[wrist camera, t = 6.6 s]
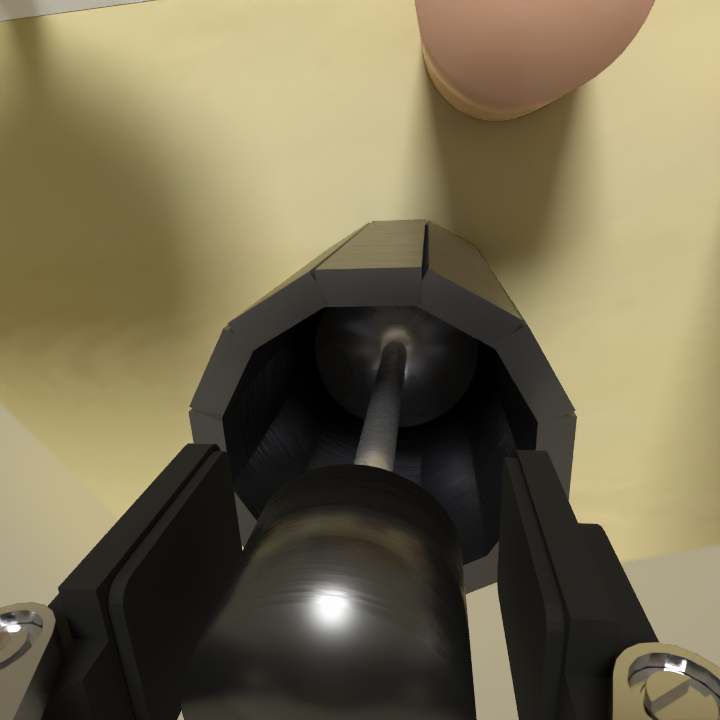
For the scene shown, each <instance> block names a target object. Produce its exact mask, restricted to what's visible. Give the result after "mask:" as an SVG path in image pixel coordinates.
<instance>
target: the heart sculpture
mask: <svg viewBox="0 0 720 720" xmlns="http://www.w3.org/2000/svg"><path fill="white" fill-rule="evenodd" d="M142 1H149V0H0V21H4V20H11V19H18V18H26V17H33V16H40V15H47V14H55V13H62V12H69V11H77V10H84V9H91V8H98V7H106V6H113V5H120V4H127V3H135V2H142Z"/></svg>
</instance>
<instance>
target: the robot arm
mask: <svg viewBox="0 0 720 720" xmlns="http://www.w3.org/2000/svg"><path fill="white" fill-rule="evenodd" d="M241 553H242V544H241V537H240V530H239V523H238V516H237V509H236V502H235V495H234V488H233V481H232V474H231V467H230V460H229V455H228V453H227V452H226V451H221V450H220V448H219V446H218V445H217V444H187V445H186V446H185V447H184V448H183V449H182V450H181V451H180V452H179V453H178V455H177V456H176V457H175V458H174V459H173V460H172V461H171V462H170V463H169V465H168V466H167V467H166V468H165V469H164V470H163V471H162V472H161V473H160V475H159V476H158V477H157V478H156V479H155V480H154V481H153V482H152V484H151V485H150V486H149V487H148V488H147V489H146V490H145V491H144V492H143V494H142V495H141V496H140V497H139V498H138V499H137V500H136V501H135V502H134V504H133V505H132V506H131V507H130V508H129V509H128V510H127V511H126V512H125V514H124V515H123V516H122V517H121V518H120V519H119V520H118V521H117V523H116V524H115V525H114V526H113V527H112V528H111V529H110V531H108V533H107V534H106V535H105V536H104V537H103V538H102V539H101V540H100V542H99V543H98V544H97V545H96V546H95V547H94V548H93V549H92V550H91V551H90V553H89V554H88V555H87V556H86V557H85V558H84V559H83V560H82V562H81V563H80V564H79V565H78V566H77V567H76V568H75V569H74V570H73V572H72V573H71V574H70V575H69V576H68V577H67V578H66V579H65V581H64V582H63V583H62V584H61V585H60V586H59V587H58V590H59V594H58V595H57V596H56V597H55V599H54V600H53V601H52V602H51V603H50V604H49V605H48V606H46V605H42V604H39V603H34V602H29V603H17V604H13V605H9V606H5V607H1V608H0V720H177V719H178V716H179V714H180V712H181V710H182V709H181V701H180V690H181V681H182V677H183V673H184V670H185V667H186V665H187V663H188V661H189V658H190V656H191V654H192V652H193V650H194V648H195V646H196V644H197V642H198V640H199V638H200V636H201V634H202V632H203V630H204V628H205V626H206V624H207V622H208V620H209V618H210V616H211V614H212V612H213V610H214V608H215V606H216V604H217V602H218V600H219V598H220V596H221V594H222V592H223V590H224V588H225V586H226V584H227V582H228V580H229V577H230V575H231V573H232V571H233V569H234V567H235V565H236V563H237V561H238V559H239V557H240V555H241ZM497 584H498V595H499V602H500V607H501V613H502V620H503V626H504V631H505V638H506V644H507V649H508V656H509V661H510V668H511V674H512V680H513V686H514V693H515V698H516V705H517V711H518V717H519V720H720V667H719V666H717V665H716V664H714V663H712V662H711V661H709V660H707V659H706V658H704V657H702V656H700V655H699V654H697V653H694V652H692V651H689V650H687V649H684V648H681V647H679V646H676V645H670V644H663V643H659V641H658V639H657V637H656V635H655V633H654V631H653V629H652V627H651V625H650V623H649V621H648V619H647V617H646V615H645V612H644V610H643V608H642V606H641V605H640V602H639V600H638V599H637V597H636V594H635V592H634V590H633V588H632V586H631V584H630V582H629V580H628V578H627V576H626V574H625V572H624V570H623V568H622V566H621V564H620V562H619V560H618V558H617V556H616V554H615V551H614V549H613V547H612V545H611V543H610V541H609V539H608V537H607V535H606V533H605V531H604V530H603V528H602V527H601V526H600V525H598V524H583V523H578V522H577V520H576V517H575V515H574V513H573V510H572V508H571V506H570V503H569V501H568V499H567V496H566V494H565V491H564V489H563V487H562V484H561V482H560V480H559V477H558V475H557V473H556V470H555V468H554V466H553V463H552V461H551V459H550V456H549V454H548V452H547V451H537V450H515V452H514V458H504V460H503V471H502V491H501V511H500V531H499V551H498V571H497Z"/></svg>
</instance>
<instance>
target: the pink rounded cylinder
mask: <svg viewBox="0 0 720 720" xmlns="http://www.w3.org/2000/svg"><path fill="white" fill-rule="evenodd" d="M654 2H655V0H415V6H416V12H417V19H418V25H419V31H420V37H421V43H422V49H423V55H424V60H425V64H426V67H427V70H428V73H429V76H430V78H431V80H432V82H433V83H434V85H435V87H436V88H437V90H438V91H439V93H440V94H441V95H442V96H443V97H444V98H445V100H446V101H447V102H448V103H450V104H451V105H452V106H453V107H455V108H456V109H457V110H459V111H461V112H463V113H464V114H466V115H469V116H471V117H474V118H478V119H482V120H489V121H505V120H510V119H515V118H518V117H522V116H525V115H527V114H529V113H531V112H533V111H535V110H537V109H539V108H541V107H543V106H545V105H547V104H548V103H550V102H552V101H554V100H556V99H558V98H560V97H561V96H563V95H565V94H567V93H569V92H571V91H573V90H574V89H576V88H578V87H580V86H582V85H583V84H585V83H586V82H588V81H590V80H591V79H593V78H594V77H596V76H597V75H598V74H600V73H601V72H602V71H603V70H605V69H606V68H607V67H608V66H610V65H611V64H612V63H613V62H614V61H615V60H616V59H617V58H618V57H619V56H620V55H621V54H622V53H623V51H624V50H625V49H626V48H627V46H628V45H629V44H630V43H631V41H632V40H633V39H634V38H635V36H636V35H637V33H638V31H639V30H640V28H641V27H642V25H643V24H644V22H645V20H646V18H647V16H648V14H649V12H650V10H651V8H652V6H653V4H654Z"/></svg>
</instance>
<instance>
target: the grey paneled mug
mask: <svg viewBox="0 0 720 720" xmlns="http://www.w3.org/2000/svg"><path fill="white" fill-rule="evenodd" d="M356 306H417V307H419V308H420V309H422V310H424V311H426V312H428V313H430V314H432V315H433V316H435V317H437V318H439V319H441V320H443V321H444V322H446V323H448V324H450V325H452V326H454V327H455V328H457V329H459V330H461V331H463V332H465V333H466V334H468V335H470V336H472V337H474V338H476V339H477V342H478V359H477V366H476V370H475V374H474V376H473V379H472V381H471V383H470V385H469V387H468V389H467V390H466V392H465V393H464V395H463V396H462V397H461V399H460V400H459V401H458V402H457V403H456V404H455V405H454V406H453V407H452V408H450V409H449V410H448V411H446V412H445V413H444V414H442V415H440V416H438V417H437V418H435V419H432V420H430V421H428V422H425V423H422V424H418V425H413V426H407V427H398V434H397V442H396V451H395V459H394V467H393V472H394V473H396V474H399V475H401V476H403V477H405V478H408V479H409V480H411V481H412V482H414V483H416V484H417V485H419V486H421V487H422V488H423V489H424V490H426V491H427V492H428V493H430V494H431V495H432V496H433V497H434V498H435V499H436V500H437V501H438V502H439V503H440V504H441V506H442V507H443V508H444V510H445V511H446V512H447V513H448V515H449V517H450V518H451V520H452V522H453V524H454V525H455V528H456V531H457V533H458V536H459V539H460V544H461V548H462V559H463V570H464V582H465V593H466V594H468V593H470V592H473V591H475V590H478V589H480V588H483V587H485V586H488V585H490V584H493V583H496V582H497V571H498V551H499V531H500V511H501V491H502V471H503V460H504V458H514V452H515V450H537V451H547V452H548V454H549V456H550V459H551V461H552V463H553V466H554V468H555V470H556V473H557V475H558V477H559V480H560V482H561V484H562V487H563V489H564V491H565V494H566V496H567V499H568V501H569V490H570V480H571V470H572V460H573V450H574V440H575V430H576V420H577V416H576V415H575V413H574V411H575V409H574V407H573V405H572V403H571V402H570V400H569V398H568V396H567V394H566V393H565V391H564V389H563V387H562V386H561V384H560V382H559V380H558V378H557V377H556V375H555V373H554V371H553V369H552V368H551V366H550V364H549V362H548V361H547V359H546V357H545V355H544V353H543V352H542V350H541V348H540V346H539V344H538V343H537V341H536V339H535V337H534V335H533V334H532V332H531V330H530V328H529V327H528V325H527V323H526V322H525V320H524V319H523V317H522V316H521V314H520V313H519V311H518V310H517V308H516V306H515V305H514V303H513V302H512V300H511V299H510V297H509V296H508V294H507V293H506V291H505V290H504V288H503V287H502V285H501V284H500V282H499V281H498V279H497V277H496V276H495V274H494V273H493V271H492V270H491V268H490V267H489V265H488V264H487V262H486V261H485V259H484V258H483V256H482V255H481V253H480V252H479V250H478V248H476V247H475V246H474V245H472V244H471V243H469V242H467V241H465V240H463V239H462V238H460V237H458V236H456V235H454V234H453V233H451V232H449V231H447V230H445V229H444V228H442V227H440V226H438V225H436V224H435V223H433V222H431V221H428V223H425V220H398V221H373V222H371V223H368V224H366V225H365V226H363V227H362V228H360V229H358V230H357V231H355V232H354V233H352V234H351V235H349V236H348V237H346V238H345V239H343V240H342V241H340V242H338V243H337V244H335V245H334V246H332V247H331V248H329V249H328V250H326V251H325V252H323V253H322V254H321V255H319V256H318V257H317V258H315V259H314V260H313V261H311V262H310V263H309V264H307V265H306V266H305V267H303V268H302V269H301V270H299V271H298V272H296V273H295V274H294V275H292V276H291V277H290V278H288V279H287V280H286V281H284V282H283V283H282V284H280V285H279V286H278V287H276V288H275V289H274V290H272V291H271V292H269V293H268V294H267V295H265V296H264V297H263V298H261V299H260V300H259V301H257V302H256V303H255V304H253V305H252V306H251V307H249V308H248V309H247V310H245V311H244V312H243V313H241V314H240V315H238V316H237V317H236V318H234V319H233V320H232V321H230V322H229V323H228V325H227V326H226V327H225V328H224V329H223V331H222V333H221V335H220V338H219V340H218V342H217V345H216V347H215V349H214V351H213V354H212V356H211V358H210V361H209V363H208V365H207V367H206V370H205V372H204V374H203V377H202V379H201V381H200V383H199V386H198V388H197V390H196V393H195V395H194V397H193V399H192V402H191V404H190V406H189V407H191V408H192V409H191V410H190V411H189V417H190V423H191V429H192V435H193V441H194V444H217V445H218V446H219V448H220V450H221V451H226V452H227V453H228V455H229V460H230V467H231V474H232V481H233V488H234V495H235V502H236V509H237V516H238V523H239V530H240V537H241V544H242V546H243V547H245V545H246V543H247V541H248V539H249V537H250V535H251V533H252V531H253V529H254V527H255V525H256V523H257V521H258V519H259V517H260V515H261V513H262V511H263V509H264V507H265V506H266V504H267V502H268V501H269V499H270V498H271V497H272V496H273V495H274V494H275V492H276V491H277V490H278V489H279V488H281V487H282V486H283V485H284V484H286V483H287V482H288V481H290V480H292V479H293V478H295V477H296V476H298V475H300V474H303V473H305V472H307V471H310V470H313V469H316V468H320V467H323V466H330V465H336V464H354V460H355V456H356V452H357V448H358V445H359V441H360V437H361V433H362V429H363V425H364V422H365V420H363V419H361V418H359V417H357V416H355V415H354V414H352V413H350V412H349V411H347V410H346V409H345V408H344V407H342V406H341V405H340V404H339V403H338V402H337V401H336V400H335V399H334V398H333V396H332V395H331V394H330V392H329V391H328V390H327V388H326V386H325V385H324V383H323V381H322V379H321V376H320V374H319V371H318V367H317V364H316V357H315V339H316V333H317V329H318V325H319V323H320V320H321V318H322V315H323V314H324V312H325V310H326V309H327V307H356Z"/></svg>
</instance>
